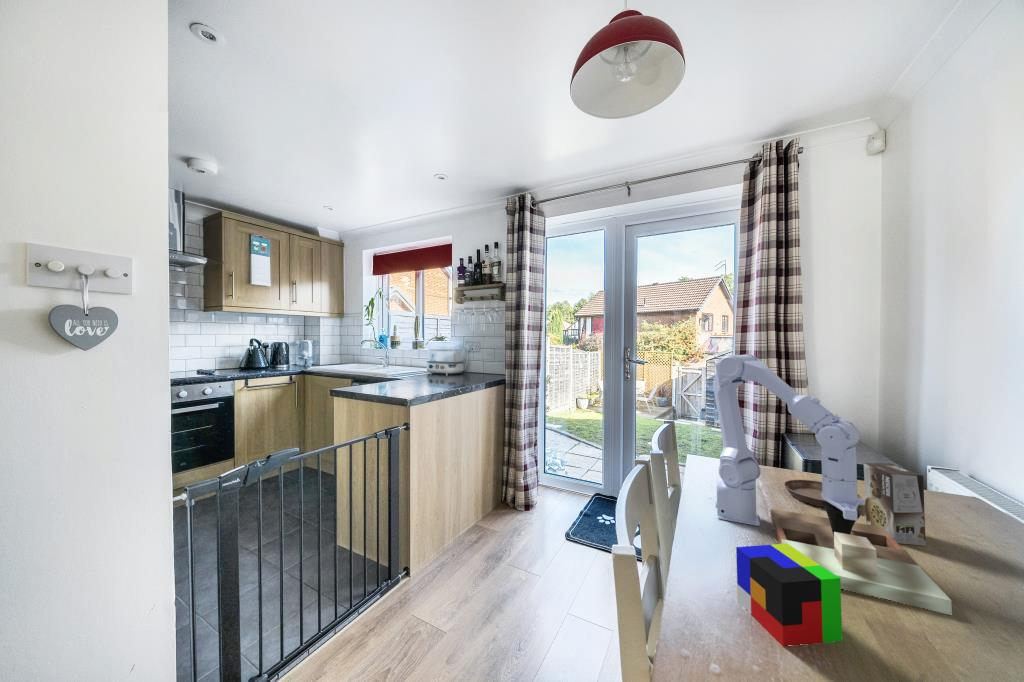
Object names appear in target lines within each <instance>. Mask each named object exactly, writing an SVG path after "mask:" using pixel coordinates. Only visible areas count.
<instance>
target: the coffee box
mask: <svg viewBox="0 0 1024 682" xmlns="http://www.w3.org/2000/svg"><path fill="white" fill-rule="evenodd" d="M863 475H864V477H863V478H864V480H863V481H864V497H865V498H864V499H865V500H864V501H865V520H866V525H873V526H879V527H883V528H884V529H885V530H886V532H887V533H888V534H889V535H890V536H891V537H892V538H893V539H894V540H895V541H896V542H897V543H898V544H903V545H914V546H926V545H927V543H926V540H927V539H926V520H925V519H926V518H925V517H926V516H925V513H926V511H925V489H924V485H925V484H924V477H925V476H924V475H923V474H920V473H919V472H916V471H912V470H910V469H907V468H904V467H902V466H899V465H896V464H893V463H891V462H890V463H888V462H887V463H886V462H873V463H872V462H863Z"/></svg>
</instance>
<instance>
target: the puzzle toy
mask: <svg viewBox="0 0 1024 682" xmlns="http://www.w3.org/2000/svg"><path fill="white" fill-rule="evenodd" d="M735 551H736V552H735V553H736V554H735V555H736V583H737V585H736V587H737V589H736V590H737V593H736V594H737V602H738V604H740V605H741V607H742V608H743V609H745V608H746V609H747V610H748V611H747V610H746V609H745V610H746V611H747V613H749V614H750V613H751V614H750V616H751V617H753V618H754V620H755V621H756V622H757V623H758V624H759V625H760V626H761V627H762V628H763V629H764V630H765V631H766V632H768V633H769V635H771V636H772V638H774V640H775V641H777V642H778V644H780V646H781V647H783V648H785V647H784V646H788V645H800V644H810V645H816V644H815V643H821V644H826V643H825V642H831V643H834V642H833V641H841V642H843V623H842V622H843V620H842V618H843V617H842V616H843V615H842V590H841V581H840V578H839V577H838V576H836V575H835V574H833V573H832V572H830V571H829V570H827V569H826V568H824V567H822V566H821V565H819V564H818V563H816V562H815V561H813V560H812V559H810V558H809V557H807V556H805V555H804V554H802V553H801V552H799V551H798V550H796V549H795V548H793V547H792V546H790V545H788V544H780V543H776V544H762V545H749V546H748V545H746V546H736V547H735ZM800 646H801V645H800Z"/></svg>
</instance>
